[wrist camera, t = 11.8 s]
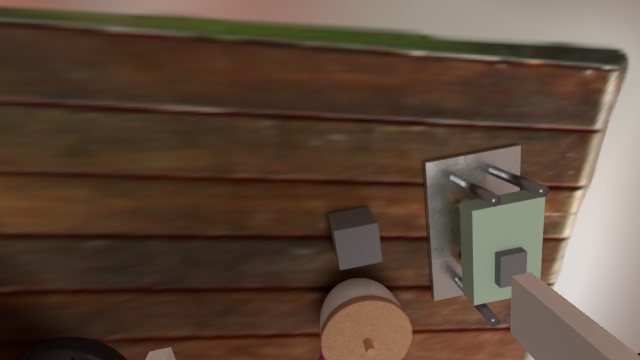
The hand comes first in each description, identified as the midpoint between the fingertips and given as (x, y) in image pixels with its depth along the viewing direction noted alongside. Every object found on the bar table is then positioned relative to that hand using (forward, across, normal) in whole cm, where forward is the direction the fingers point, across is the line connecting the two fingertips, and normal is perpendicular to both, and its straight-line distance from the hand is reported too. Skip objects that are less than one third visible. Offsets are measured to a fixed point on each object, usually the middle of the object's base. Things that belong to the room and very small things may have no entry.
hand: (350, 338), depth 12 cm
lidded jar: (+27, +3, -20) cm, 33 cm away
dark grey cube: (+27, +4, -9) cm, 28 cm away
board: (+22, +20, -12) cm, 32 cm away
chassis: (+27, +20, -12) cm, 35 cm away
